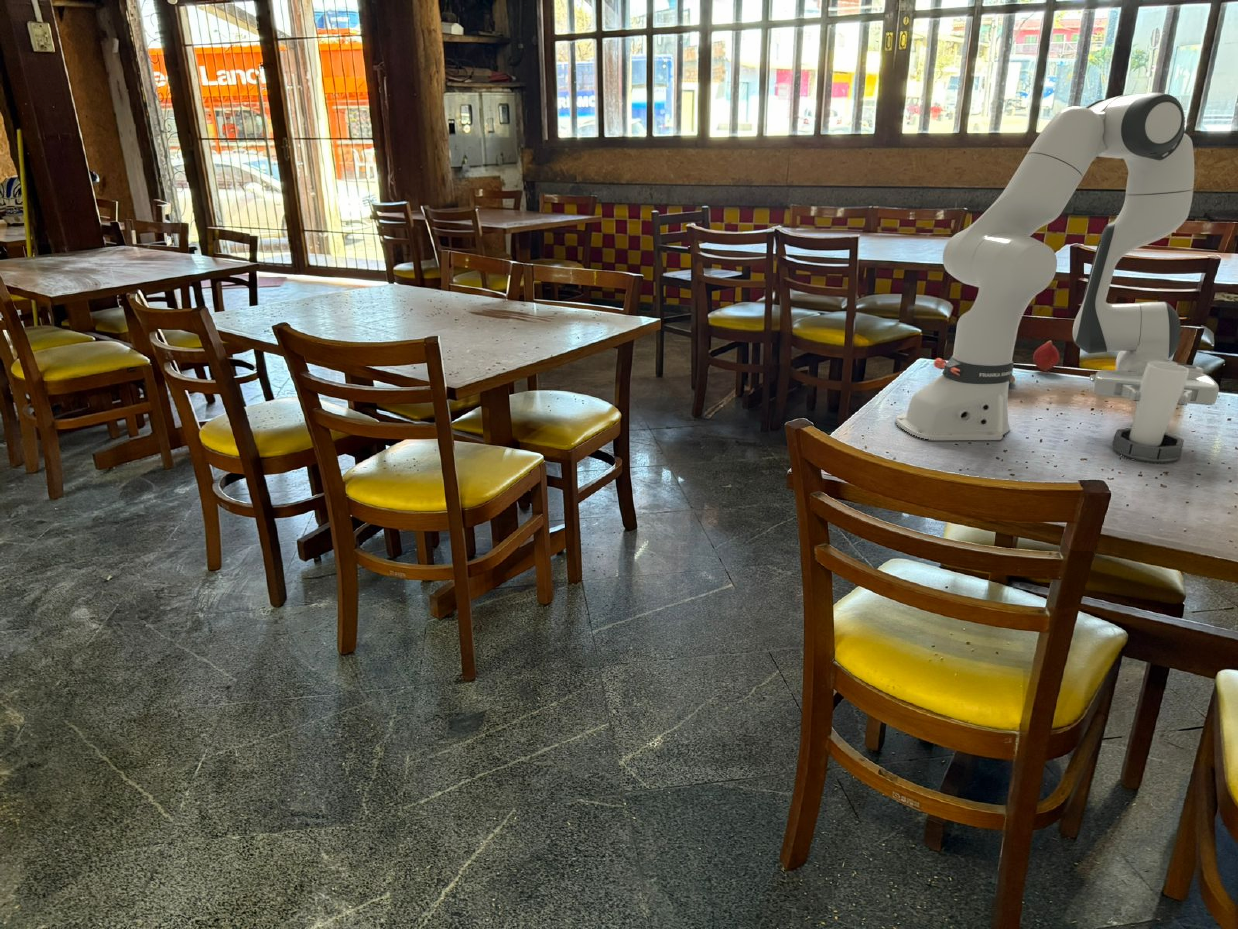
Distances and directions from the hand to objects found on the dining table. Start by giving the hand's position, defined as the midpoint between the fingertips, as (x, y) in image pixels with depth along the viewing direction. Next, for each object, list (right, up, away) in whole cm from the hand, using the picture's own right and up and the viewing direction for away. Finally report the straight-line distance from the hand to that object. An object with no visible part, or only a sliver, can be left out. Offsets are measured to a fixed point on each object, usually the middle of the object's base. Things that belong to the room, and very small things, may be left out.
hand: (1159, 399), depth 154 cm
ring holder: (0, -10, +5) cm, 11 cm away
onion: (+8, +11, +58) cm, 59 cm away
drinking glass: (0, -8, +5) cm, 9 cm away
